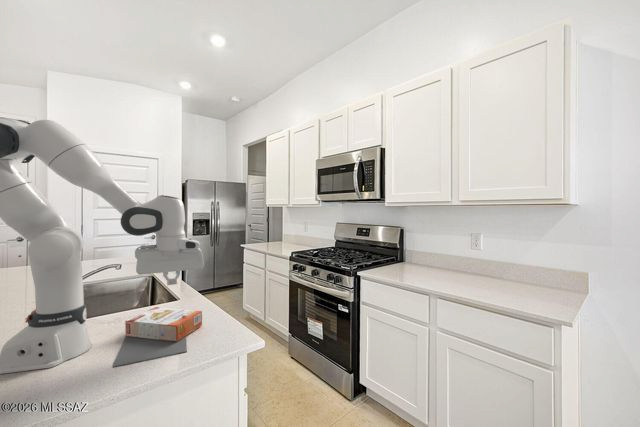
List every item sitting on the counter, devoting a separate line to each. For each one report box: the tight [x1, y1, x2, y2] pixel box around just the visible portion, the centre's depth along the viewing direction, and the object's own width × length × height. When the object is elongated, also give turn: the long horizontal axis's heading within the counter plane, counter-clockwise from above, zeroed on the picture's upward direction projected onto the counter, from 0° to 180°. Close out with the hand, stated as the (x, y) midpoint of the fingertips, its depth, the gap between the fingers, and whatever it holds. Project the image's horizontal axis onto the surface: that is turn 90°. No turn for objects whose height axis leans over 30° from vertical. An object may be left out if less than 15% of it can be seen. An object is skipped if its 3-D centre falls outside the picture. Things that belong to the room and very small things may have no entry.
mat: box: [112, 335, 188, 368], centre depth 95 cm, size 19×22×1 cm
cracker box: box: [124, 306, 203, 342], centre depth 104 cm, size 14×6×21 cm
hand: (172, 284), depth 97 cm, fingers closed
